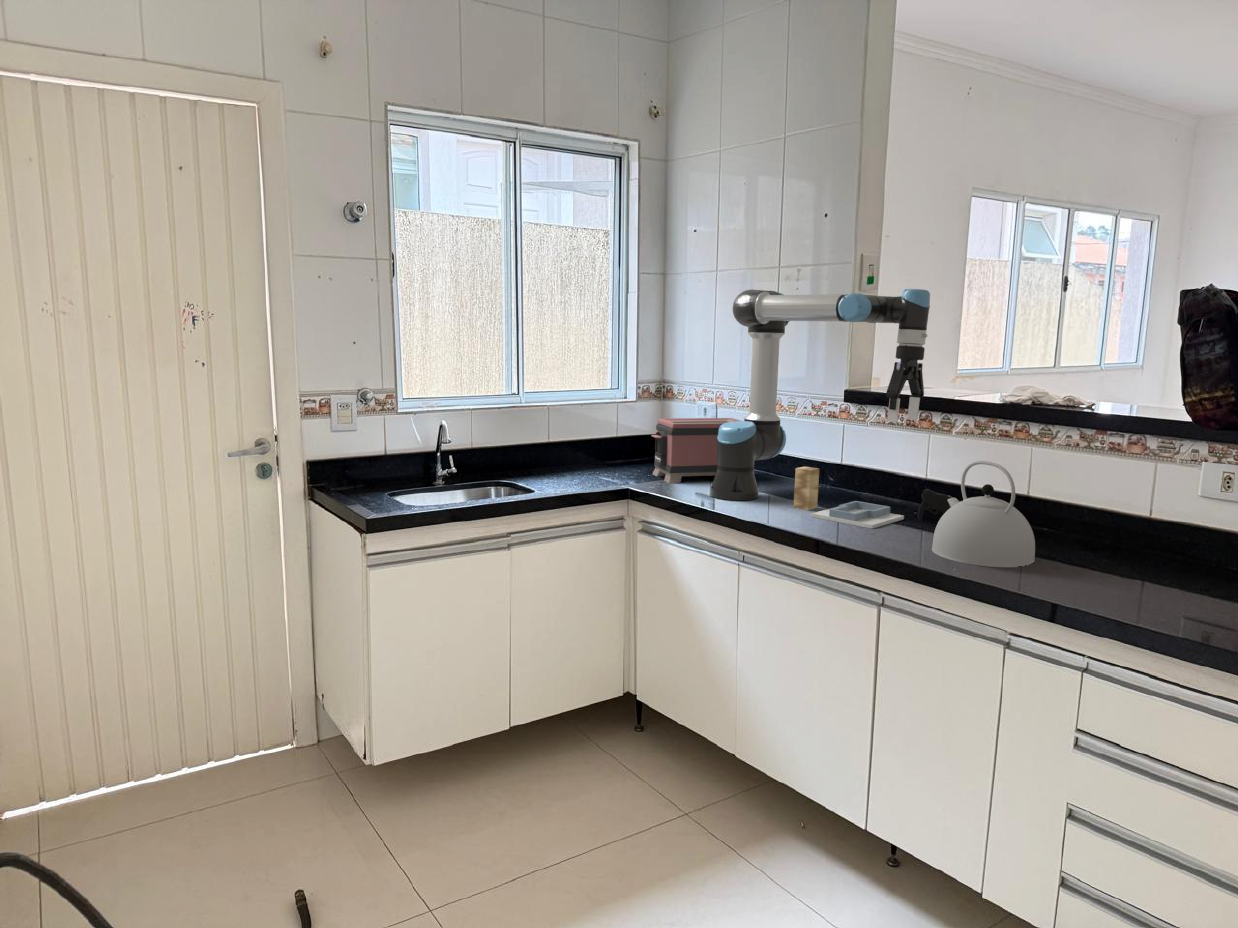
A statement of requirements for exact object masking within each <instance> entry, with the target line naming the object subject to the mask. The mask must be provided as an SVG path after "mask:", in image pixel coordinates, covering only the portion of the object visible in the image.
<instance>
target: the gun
mask: <svg viewBox="0 0 1238 928" xmlns="http://www.w3.org/2000/svg"><path fill="white" fill-rule="evenodd" d="M920 496H921V500H922V502H921V503H920V505H919V507H918V511H917V520H918V521H920V522H923V516H924V511H926V512H930V513H931V514H933V515H939V514H940V513H942V514H944V513H945V512H946V511H947V510H949V509H950V508H951V506H950V504H949V502H948V499H950V498H954V497H953V496H951V495H949V494H948V495H947V494H945V493H939V492H935V491H933V490H931V489H929V488H925V489H923V491H922V492H921V495H920ZM958 501H959V502H961V501H960V500H958ZM928 507H929V508H928ZM931 507H932V508H934V509H935V510H936V511H934V510H932V508H931Z"/></svg>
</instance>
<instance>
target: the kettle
mask: <svg viewBox="0 0 1238 928" xmlns="http://www.w3.org/2000/svg"><path fill="white" fill-rule="evenodd" d="M977 465H985V466H991V467H995V468H998V469H999V470H1000V471H1001V472H1002V473H1004V474H1005V476H1006V478H1007V479H1008V482H1009V484H1010V485H1009V486H1010V490H1011V491H1010V492H1011V496H1010V501H1009V502H1007V501H1005V500H1003V499H999V498H996V497H993V496H991V495H992V494H994V491H995V489H994V486H993V485H992V484H985V485H983V486H982V487H981V493H982V494H984V496H982V495H981V496H972V497H967V494H966V485H965V482H966V477H967V474H968V472H969V470H970V469H971V468H972V467H974V466H977ZM960 489H961V494H962V499H963V500H961V501H960V500H959V499H957V498H956V497H953V498H950V499H948V502H949V504H950V506H951V508H950V509H949V510H947V511H946V512H945V513H943V514H942V516H941V517H940V518H939V520H938V522H937V524H936V527H935V529H934V534H933V539H932V547H931V551H932V552H933V553H934V554H935V555H937V556H940V557H942V558H944V559H946V560H949V561H950V560H951V561H954V562H959V563H963V564H968V565H973V566H980V567H981V566H982V567H992V568H1019V567H1018V566H1022V567H1026V566H1025V565H1027V566H1030V565H1032V564H1031V563H1033V562H1034V563H1035V561H1036V560H1035V557H1036V540H1035V539H1036V538H1035V534H1034V531H1033V529H1032V526H1031V525H1030V522H1029V521H1028V520H1027V518H1026V517H1025V516H1024V514H1023V513H1021V512H1020V510H1018V509H1017V508H1016V507H1015V506H1014V504H1015V500H1016V486H1015V482H1014V479H1013V477H1012V476H1011V473H1009V471H1008V470H1007V469H1006V468H1005V467H1004V466H1002V465H1001V464H999V463H996V462H993V461H988V460H976V461H973V462H971V463H970V464H968V465H967V466H966V468H964V471H962V476H961V481H960ZM959 501H960V502H959ZM1034 563H1033V564H1034ZM1029 564H1030V565H1029Z"/></svg>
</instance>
